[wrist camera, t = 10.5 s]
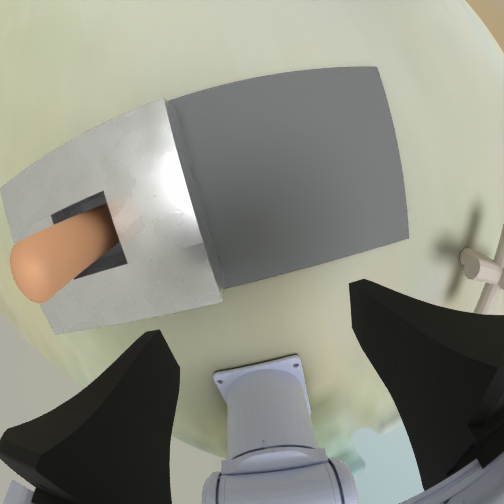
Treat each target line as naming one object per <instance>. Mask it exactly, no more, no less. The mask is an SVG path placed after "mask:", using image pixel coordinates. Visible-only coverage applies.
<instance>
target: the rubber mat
mask: <svg viewBox="0 0 504 504" xmlns="http://www.w3.org/2000/svg"><path fill="white" fill-rule="evenodd" d="M167 102H168V103H170V104H171V105H172V106H173V107H174V108H175V109H176V110H177V111H179V115H180V119H181V123H182V127H183V131H184V135H185V138H186V142H187V146H188V150H189V153H190V157H191V161H192V165H193V168H194V172H195V175H196V179H197V183H198V186H199V190H200V193H201V197H202V200H203V204H204V207H205V211H206V214H207V218H208V221H209V224H210V228H211V231H212V234H213V238H214V241H215V244H216V248H217V251H218V254H219V258H220V261H221V264H222V267H223V270H224V274H225V282H224V289H226V288H230V287H234V286H238V285H242V284H246V283H250V282H254V281H258V280H262V279H265V278H269V277H273V276H277V275H281V274H285V273H288V272H292V271H296V270H300V269H303V268H307V267H311V266H315V265H318V264H322V263H326V262H329V261H333V260H336V259H340V258H343V257H347V256H350V255H354V254H357V253H361V252H364V251H368V250H371V249H375V248H378V247H381V246H385V245H388V244H392V243H395V242H398V241H401V240H405V239H408V238H409V229H408V215H407V205H406V196H405V187H404V180H403V173H402V167H401V161H400V155H399V150H398V144H397V139H396V135H395V130H394V126H393V121H392V117H391V113H390V109H389V105H388V102H387V98H386V94H385V91H384V88H383V84H382V81H381V78H380V75H379V72H378V69H377V67H337V68H323V69H311V70H302V71H294V72H286V73H280V74H273V75H267V76H262V77H256V78H251V79H246V80H242V81H237V82H233V83H229V84H224V85H220V86H217V87H213V88H209V89H205V90H202V91H198V92H195V93H192V94H188V95H185V96H182V97H179V98H176V99H173V100H170V101H167ZM106 203H107V201H106V197H105V194H104V195H101V196H99V197H97V198H94V199H92V200H90V201H87V202H85V203H83V204H81V208H82V211H83V212H85V211H88V210H90V209H93V208H95V207H98V206H101V205H103V204H106ZM121 252H124V251H123V249H122V246H121V243H120V242H119V243H118V244H116V245H115V246H114V247H112V248H111V249H110V250H108V251H107V252H106V253H105V254H103V255H102V256H101V257H99V259H102V258H105V257H108V256H111V255H114V254H117V253H121Z"/></svg>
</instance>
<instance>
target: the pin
mask: <svg viewBox="0 0 504 504" xmlns="http://www.w3.org/2000/svg"><path fill="white" fill-rule="evenodd" d="M119 242H120V240H119V238H118V235H117V232H116V229H115V226H114V223H113V220H112V217H111V214H110V210H109V207H108V204H107V203H106V204H103V205H101V206H98V207H95V208H93V209H90V210H88V211H85V212H83V213H80V214H78V215H75V216H73V217H71V218H68V219H66V220H64V221H61V222H59V223H57V224H54V225H52V226H50V227H48V228H46V229H43V230H41V231H39V232H37V233H35V234H33V235H31V236H29V237H27V238H25V239H23V240H21V241H19V242H17V243H16V244H15V245H14V246H13V248H12V251H11V256H10V265H11V271H12V275H13V277H14V280H15V282H16V284H17V286H18V287H19V289H20V290H21V292H22V293H23V294H24V295H25V296H26V297H27V298H28V299H30V300H32V301H33V302H36V303H45V302H47V301H48V300H49V299H50V298H51V297H53V296H54V295H55V294H56V293H57V292H58V291H59V290H61V289H62V288H63V287H64V286H65V285H66V284H68V283H69V282H70V281H71V280H72V279H73V278H75V277H76V276H77V275H78V274H79V273H81V272H82V271H83V270H84V269H86V268H87V267H88V266H89V265H91V264H92V263H93V262H94V261H96V260H97V259H98V258H99V257H101V256H102V255H103V254H105V253H106V252H107V251H108V250H110V249H111V248H112V247H114V246H115V245H116V244H118V243H119Z"/></svg>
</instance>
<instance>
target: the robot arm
mask: <svg viewBox="0 0 504 504" xmlns="http://www.w3.org/2000/svg"><path fill="white" fill-rule="evenodd" d="M349 291H350V303H351V318H352V328H353V331H354V333H355V335H356V337H357V339H358V341H359V344H360V346H361V348H362V349H363V351H364V353H365V354H366V356H367V357H368V359H369V360H370V362H371V364H372V365H373V367H374V368H375V370H376V371H377V373H378V375H379V376H380V378H381V379H382V381H383V382H384V384H385V386H386V387H387V389H388V391H389V392H390V394H391V396H392V398H393V400H394V402H395V405H396V407H397V409H398V411H399V414H400V416H401V418H402V421H403V423H404V426H405V428H406V431H407V434H408V436H409V439H410V442H411V445H412V448H413V451H414V454H415V458H416V461H417V465H418V469H419V472H420V476H421V481H422V485H423V488H424V490H425V491H424V492H422V493H420V494H418V495H417V496H414V497H412V498H410V499H408V500H406V501H404V502H402V503H399V504H442V503H443V504H504V315H485V314H477V313H469V312H463V311H457V310H453V309H449V308H444V307H440V306H436V305H433V304H430V303H427V302H424V301H421V300H417V299H415V298H412V297H409V296H407V295H404V294H401V293H399V292H396V291H394V290H391V289H389V288H386V287H384V286H382V285H379V284H377V283H374V282H371V281H369V280H366V279H362V280H359V281H355V282H352V283H349ZM296 363H297V364H296ZM294 364H296V365H294ZM213 379H214V381H215V383H216V385H217V387H218V389H219V391H220V393H221V395H222V397H223V399H224V401H225V402H226V404H227V460H223V461H222V472H213V473H212V474H211V475H210V477H209V478H208V479H207V480H206V481H205V483H204V486H203V492H202V504H358V495H357V489H356V485H355V481H354V478H353V475H352V473H351V471H350V469H349V467H348V466H347V464H346V463H344V462H343V461H341V460H340V459H339V458H337V457H332V458H327V454H326V451H325V448H319V446H318V443H317V439H316V435H315V432H314V428H313V425H312V421H311V417H310V414H311V410H310V404H309V399H308V394H307V389H306V384H305V379H304V374H303V369H302V364H301V359H300V357H299V356H298V355H293V356H289V357H285V358H281V359H277V360H273V361H269V362H265V363H260V364H256V365H251V366H246V367H242V368H237V369H231V370H226V371H221V372H216V373H214V375H213ZM219 380H222V381H219ZM179 384H180V367H179V365H178V363H177V361H176V360H175V358H174V356H173V354H172V352H171V350H170V348H169V347H168V345H167V343H166V341H165V339H164V337H163V335H162V333H161V331H160V330H154V331H149V332H146V333H144V334H143V335H142V336H141V337H139V338H138V339H137V340H136V341H135V342H134V343H133V344H132V345H131V346H130V347H129V348H128V349H127V350H126V351H125V352H124V353H123V354H122V355H121V356H120V357H119V358H118V359H117V360H116V361H115V362H114V363H113V364H112V365H111V366H109V367H108V368H107V369H106V370H105V371H104V372H103V373H102V374H101V375H100V376H99V377H98V378H97V379H95V380H94V381H93V382H92V383H91V384H90V385H88V386H87V387H86V388H85V389H83V390H82V391H81V392H79V393H78V394H77V395H75V396H74V397H73V398H71V399H69V400H68V401H66V402H65V403H63V404H62V405H60V406H58V407H57V408H55V409H53V410H52V411H50V412H48V413H46V414H44V415H42V416H40V417H38V418H36V419H34V420H32V421H29V422H26V423H23V424H21V425H18V426H15V427H12V428H9V429H7V430H6V431H5V432H4V434H3V436H2V437H1V439H0V459H1V460H2V461H3V462H4V463H5V464H7V465H8V466H9V467H10V468H11V469H12V470H14V471H15V472H16V473H17V474H19V475H20V476H21V477H23V478H24V479H25V480H26V481H28V482H29V483H30V484H32V485H33V486H35V487H36V489H35V492H33V491H31V490H30V489H28V488H26V487H24V486H23V485H21V484H19V483H17V482H15V481H13V480H12V481H11V483H10V486H9V489H8V491H7V494H6V497H5V499H4V502H3V504H172V500H171V491H170V473H169V472H170V468H169V461H170V440H171V433H172V427H173V422H174V416H175V411H176V405H177V400H178V394H179Z"/></svg>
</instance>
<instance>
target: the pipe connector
mask: <svg viewBox="0 0 504 504" xmlns="http://www.w3.org/2000/svg"><path fill="white" fill-rule="evenodd" d="M460 263H461V264H462V265H464V266H465V267H464V272H465V275H466V277H467V278H468V279H473V280H477V281H481V282H486V283H485V286H484V288H483V291H482V293H481V296H480V298H479V301H478V303H477V305H476V308H475V310H474V312H473V313H477V314H485V315H490V314H491V312H492V309H493V307H494V305H495V303H496V300H497V298H498V295H499V293H500V290H501V288H502V289H504V225H503V229H502V233H501V237H500V240H499V244H498V247H497V251H496V254H495V257H494V260H491V259H489V258H487V257H485V256H484V255H482V254H480V253H478V252H476V251H474V250H472V249H470V248H465V249H463V251H462V252H461V255H460Z"/></svg>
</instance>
